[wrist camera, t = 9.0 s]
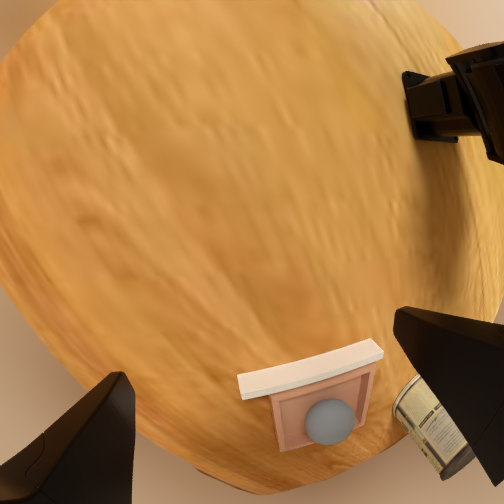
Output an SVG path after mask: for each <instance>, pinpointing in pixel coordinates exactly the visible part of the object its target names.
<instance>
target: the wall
mask: <svg viewBox="0 0 504 504" xmlns="http://www.w3.org/2000/svg"><path fill="white" fill-rule="evenodd" d="M383 354H384V351H383V350H382V349H381V348H380V347H379V346H378V345H377V344H376V343H375V342H374V341H373V340H372V339H371V338H369V339H366V340H363V341H360V342H357V343H354V344H351V345H348V346H345V347H342V348H339V349H336V350H333V351H330V352H326V353H323V354H320V355H316V356H313V357H309V358H306V359H302V360H298V361H295V362H291V363H287V364H283V365H279V366H275V367H270V368H266V369H262V370H257V371H252V372H248V373H243V374H238V375H237V378H238V383H239V388H240V393H241V397H242V400H245V399H250V398H255V397H260V396H264V395H269V394H273V393H277V392H281V391H285V390H289V389H293V388H297V387H300V386H304V385H307V384H311V383H314V382H317V381H321V380H324V379H327V378H330V377H333V376H336V375H339V374H342V373H345V372H348V371H351V370H353V369H356V368H359V367H362V366H364V365H367V364H369V363H372V362H374V361H377V360H379V359H382V358H383Z"/></svg>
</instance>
